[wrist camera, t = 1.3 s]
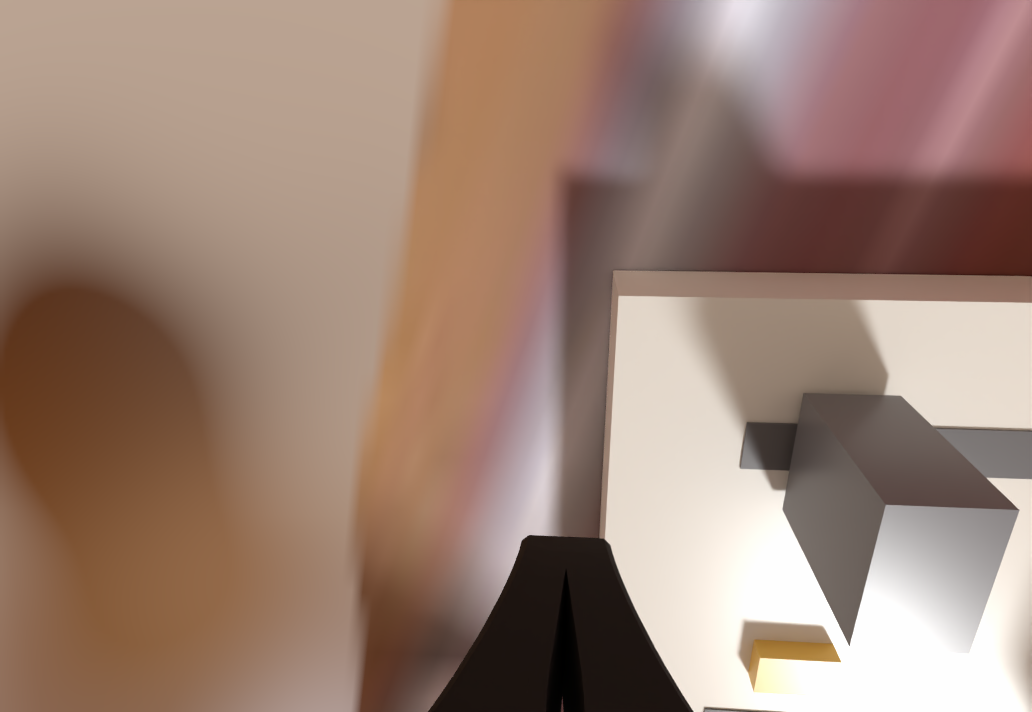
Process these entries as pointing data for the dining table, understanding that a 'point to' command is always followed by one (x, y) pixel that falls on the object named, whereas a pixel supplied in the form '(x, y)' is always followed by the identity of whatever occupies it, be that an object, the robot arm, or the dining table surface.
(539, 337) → the dining table surface
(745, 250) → the dining table surface
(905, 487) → the gray tab
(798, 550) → the switch board
